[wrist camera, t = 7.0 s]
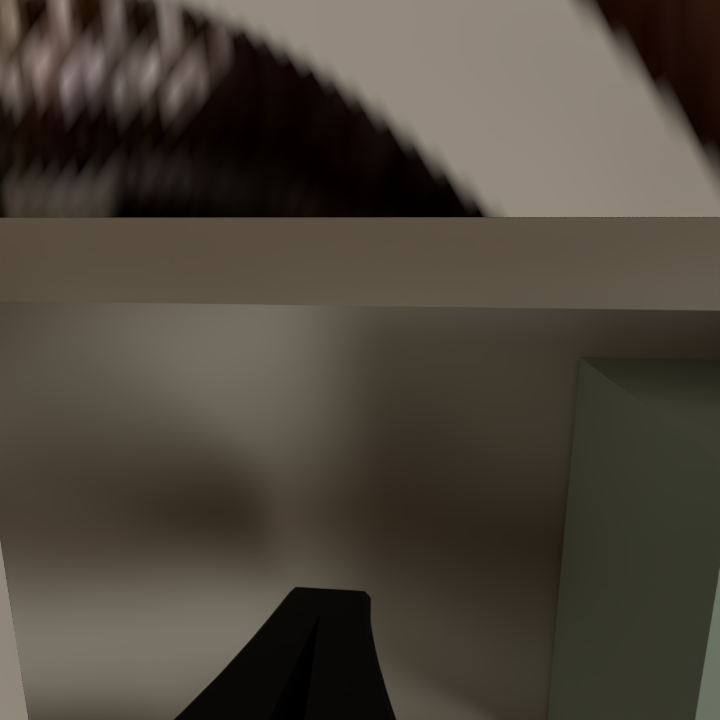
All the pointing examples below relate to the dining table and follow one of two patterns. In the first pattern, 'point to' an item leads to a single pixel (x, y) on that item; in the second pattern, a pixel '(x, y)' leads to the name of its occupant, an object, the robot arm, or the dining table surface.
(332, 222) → the bay
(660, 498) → the box
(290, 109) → the dining table surface
